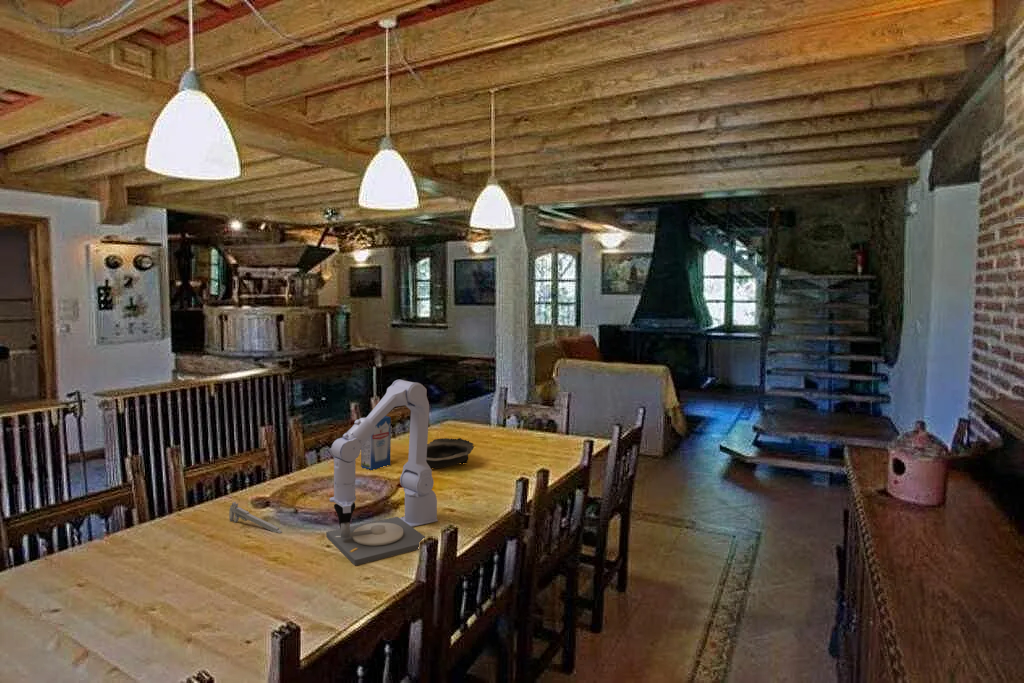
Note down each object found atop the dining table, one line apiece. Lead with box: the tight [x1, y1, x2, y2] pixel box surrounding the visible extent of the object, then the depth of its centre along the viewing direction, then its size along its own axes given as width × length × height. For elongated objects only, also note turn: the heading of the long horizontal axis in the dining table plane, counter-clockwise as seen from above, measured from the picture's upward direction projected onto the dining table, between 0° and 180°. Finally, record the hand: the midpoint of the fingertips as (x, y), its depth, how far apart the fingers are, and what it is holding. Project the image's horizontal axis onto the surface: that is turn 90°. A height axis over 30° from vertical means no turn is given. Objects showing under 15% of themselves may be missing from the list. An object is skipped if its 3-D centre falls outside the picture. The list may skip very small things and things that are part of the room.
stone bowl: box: [426, 437, 475, 469], centre depth 246 cm, size 25×25×9 cm
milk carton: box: [360, 415, 392, 471], centre depth 242 cm, size 10×6×20 cm, turn 143°
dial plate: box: [325, 516, 426, 567], centre depth 169 cm, size 22×22×2 cm
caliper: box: [228, 501, 283, 534], centre depth 178 cm, size 20×1×6 cm, turn 65°
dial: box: [341, 522, 403, 546], centre depth 168 cm, size 17×14×5 cm
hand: (344, 529), depth 167 cm, fingers closed
